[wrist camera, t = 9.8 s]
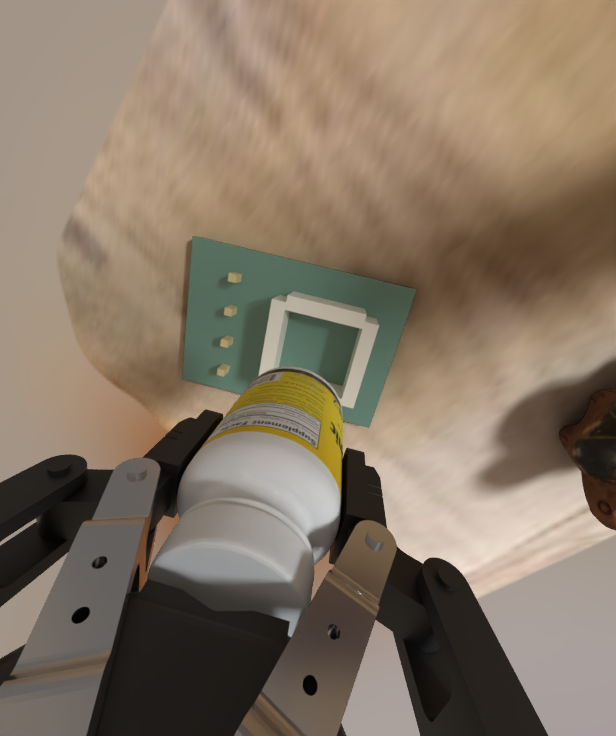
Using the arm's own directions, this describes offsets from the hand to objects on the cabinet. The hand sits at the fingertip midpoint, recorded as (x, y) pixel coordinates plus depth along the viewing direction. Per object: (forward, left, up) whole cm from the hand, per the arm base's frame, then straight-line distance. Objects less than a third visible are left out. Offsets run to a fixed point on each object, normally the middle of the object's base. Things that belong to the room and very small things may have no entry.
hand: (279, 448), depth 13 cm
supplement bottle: (0, 0, -4) cm, 4 cm away
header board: (+3, 0, -18) cm, 18 cm away
